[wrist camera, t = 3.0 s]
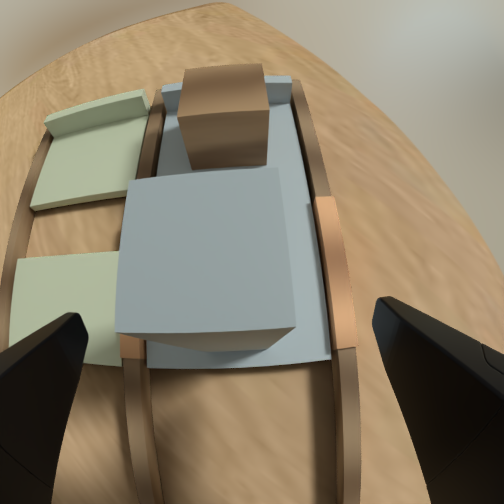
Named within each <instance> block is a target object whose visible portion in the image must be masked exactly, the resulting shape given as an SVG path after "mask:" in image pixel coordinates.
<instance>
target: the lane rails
mask: <svg viewBox="0 0 504 504" xmlns="http://www.w3.org/2000/svg"><path fill="white" fill-rule="evenodd" d="M161 91H162V89H160V90H156V93H155V97H154V101H153V104H152V108H151V112H150V116H149V121H148V125H147V129H146V134H145V138H144V143H143V148H142V153H141V158H140V163H139V168H138V174H137V179H144V178H151V177H156V176H157V169H158V162H159V155H160V149H161V142H162V136H163V131H164V125H165V120H166V114H167V111H166V107H165V104H164V101H163V97H162V94H161ZM290 106H291V110H292V114H293V118H294V123H295V127H296V131H297V136H298V141H299V145H300V150H301V155H302V159H303V164H304V169H305V174H306V180H307V185H308V190H309V196H310V201H311V207H312V212H313V218H314V224H315V230H316V237H317V243H318V249H319V256H320V263H321V270H322V277H323V285H324V293H325V301H326V309H327V318H328V327H329V337H330V348H331V362H332V375H333V389H334V405H335V425H336V460H337V498H336V504H360V489H361V421H360V398H359V382H358V369H357V357H356V346H358V337H357V328H356V320H355V312H354V305H353V297H352V290H351V284H350V277H349V271H348V265H347V259H346V253H345V248H344V242H343V237H342V232H341V227H340V222H339V217H338V212H337V208H336V203H335V198H334V196H331V192H330V188H329V183H328V179H327V175H326V171H325V167H324V163H323V159H322V155H321V151H320V147H319V143H318V139H317V136H316V132H315V128H314V125H313V121H312V118H311V114H310V111H309V108H308V104H307V101H306V98H305V94H304V91H303V88H302V85H301V82H300V80H292V90H291V99H290ZM53 139H54V137H53V136H52V134H51V133H50V131H49V130H48V129H47V130H46V132H45V134H44V136H43V138H42V141H41V143H40V145H39V148H38V150H37V152H36V155H35V157H34V160H33V162H32V165H31V168H30V170H29V173H28V176H27V179H26V181H25V184H24V187H23V190H22V193H21V196H20V200H19V203H18V206H17V210H16V213H15V217H14V221H13V224H12V228H11V232H10V237H9V241H8V245H7V250H6V255H5V260H4V266H3V272H2V278H1V285H0V353H1V352H2V351H4V350H5V349H7V348H9V329H10V314H11V303H12V293H13V285H14V278H15V272H16V265H17V260H18V259H21V258H25V257H26V252H27V247H28V242H29V237H30V233H31V228H32V224H33V220H34V216H35V212H36V211H34V210H33V209H32V208H31V207H30V204H31V201H32V197H33V194H34V191H35V188H36V184H37V181H38V178H39V176H40V173H41V170H42V167H43V164H44V162H45V159H46V156H47V154H48V151H49V149H50V146H51V144H52V141H53ZM120 358H123V370H124V391H125V406H126V418H127V428H128V437H129V445H130V452H131V459H132V466H133V472H134V478H135V483H136V489H137V494H138V499H139V503H140V504H164V499H163V494H162V488H161V482H160V476H159V469H158V462H157V454H156V446H155V437H154V427H153V417H152V404H151V389H150V368H147V340H144V339H140V338H135V337H131V336H127V335H123V334H120Z"/></svg>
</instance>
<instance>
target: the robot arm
mask: <svg viewBox="0 0 504 504" xmlns="http://www.w3.org/2000/svg"><path fill="white" fill-rule="evenodd" d="M372 327H373V331H374V334H375V337H376V340H377V344H378V347H379V350H380V354H381V357H382V361H383V364H384V367H385V370H386V373H387V376H388V378H389V380H390V383H391V385H392V388H393V390H394V393H395V396H396V398H397V401H398V403H399V406H400V409H401V411H402V414H403V417H404V419H405V422H406V425H407V428H408V431H409V433H410V436H411V439H412V442H413V445H414V448H415V451H416V454H417V457H418V460H419V463H420V466H421V470H422V473H423V476H424V479H425V483H426V487H427V490H428V494H429V497H430V501H431V504H504V354H502V353H500V352H498V351H496V350H494V349H492V348H490V347H488V346H486V345H484V344H481V343H480V342H479V341H477V340H475V339H473V338H471V337H469V336H467V335H465V334H464V333H462V332H460V331H458V330H456V329H454V328H452V327H450V326H448V325H446V324H444V323H442V322H440V321H439V320H437V319H435V318H433V317H431V316H429V315H427V314H425V313H423V312H421V311H419V310H417V309H415V308H413V307H411V306H409V305H407V304H405V303H403V302H401V301H399V300H397V299H395V298H393V297H391V296H387V297H380V298H378V299H377V301H376V305H375V310H374V314H373V319H372ZM88 340H89V335H88V332H87V329H86V327H85V325H84V322H83V320H82V317H81V315H80V314H79V313H77V312H67V313H65V314H63V315H62V316H60V317H58V318H57V319H55V320H53V321H52V322H50V323H48V324H46V325H45V326H43V327H41V328H40V329H38V330H36V331H35V332H33V333H31V334H30V335H28V336H27V337H25V338H23V339H22V340H20V341H18V342H17V343H15V344H14V345H12V346H10V347H9V348H7V349H5V350H4V351H2V352H1V353H0V504H51V501H52V494H53V487H54V481H55V475H56V469H57V464H58V459H59V455H60V450H61V445H62V441H63V437H64V433H65V429H66V425H67V421H68V417H69V414H70V410H71V406H72V403H73V399H74V396H75V393H76V389H77V386H78V383H79V379H80V375H81V371H82V366H83V362H84V357H85V353H86V349H87V345H88Z"/></svg>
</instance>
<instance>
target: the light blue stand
mask: <svg viewBox="0 0 504 504" xmlns="http://www.w3.org/2000/svg"><path fill="white" fill-rule="evenodd" d="M264 79H265V85H266V91H267V97H268V103H269V109H270V114H269V133H268V150H267V165H259V166H240V167H225V168H212V169H201V170H192V169H191V165H190V162H189V158H188V155H187V151H186V148H185V144H184V141H183V137H182V134H181V130H180V127H179V123H178V120H177V113H178V107H179V101H180V95H181V89H182V84H183V82H181V83H174V84H167V85H163V87H162V91H161V94H162V97H163V101H164V104H165V107H166V111H167V114H166V120H165V125H164V131H163V136H162V142H161V149H160V155H159V162H158V169H157V176H156V177H151V178H144V179H136V180H129V185H128V191H127V197H126V203H125V209H124V216H123V223H122V231H121V240H120V249H119V259H118V270H117V283H116V301H115V333H119V334H123V335H127V336H131V337H135V338H140V339H144V340H147V368H164V369H216V368H242V367H259V366H273V365H284V364H295V363H304V362H313V361H321V360H328V359H331V348H330V337H329V327H328V318H327V309H326V301H325V293H324V285H323V277H322V270H321V263H320V256H319V249H318V243H317V237H316V230H315V224H314V218H313V212H312V207H311V201H310V196H309V190H308V185H307V180H306V174H305V169H304V164H303V159H302V155H301V150H300V145H299V141H298V136H297V131H296V127H295V123H294V118H293V114H292V110H291V106H290V99H291V90H292V80H291V76H264Z"/></svg>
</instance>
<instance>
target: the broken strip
mask: <svg viewBox="0 0 504 504" xmlns="http://www.w3.org/2000/svg"><path fill="white" fill-rule="evenodd" d="M150 112H151V107H150V105H149V102H148V99H147V96H146V93H145V90H144V89H140V90H135V91H130V92H126V93H121V94H117V95H113V96H109V97H105V98H101V99H98V100H94V101H91V102H87V103H84V104H80V105H77V106H74V107H71V108H68V109H65V110H62V111H59V112H56V113H53V114H50V115H47V117H46V119H45V121H44V124H45V126H46V127H47V129H48V130H49V131H50V133H51V134H52V136H53V137H54V139H53V141H52V144H51V146H50V149H49V151H48V154H47V156H46V159H45V162H44V164H43V167H42V170H41V173H40V176H39V178H38V181H37V184H36V188H35V191H34V194H33V197H32V201H31V204H30V207H31V208H32V209H33V210H34V211H38V210H43V209H48V208H54V207H59V206H65V205H71V204H77V203H83V202H90V201H96V200H103V199H110V198H117V197H125V196H127V191H128V185H129V180H136V179H137V174H138V168H139V163H140V158H141V153H142V148H143V143H144V138H145V134H146V129H147V125H148V121H149V116H150ZM118 259H119V251H111V252H98V253H84V254H71V255H58V256H46V257H33V258H21V259H18V260H17V265H16V272H15V278H14V285H13V293H12V303H11V314H10V329H9V347H10V346H12V345H14V344H15V343H17V342H18V341H20V340H22V339H23V338H25V337H27V336H28V335H30V334H31V333H33V332H35V331H36V330H38V329H40V328H41V327H43V326H45V325H46V324H48V323H50V322H52V321H53V320H55V319H57V318H58V317H60V316H62V315H63V314H65V313H67V312H77V313H79V314H80V315H81V317H82V320H83V322H84V325H85V327H86V329H87V332H88V335H89V340H88V345H87V349H86V353H85V357H84V362H83V363H88V364H98V365H109V366H123V358H120V334H119V333H115V301H116V283H117V270H118Z"/></svg>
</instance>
